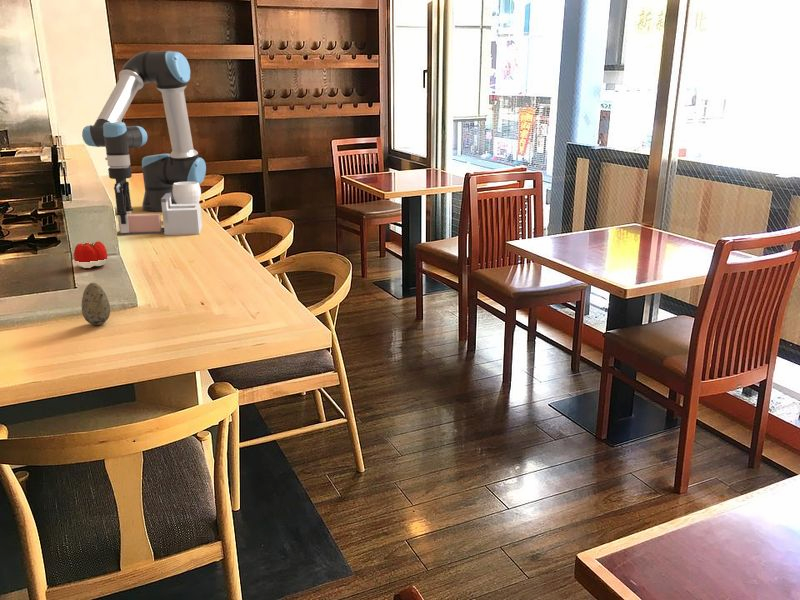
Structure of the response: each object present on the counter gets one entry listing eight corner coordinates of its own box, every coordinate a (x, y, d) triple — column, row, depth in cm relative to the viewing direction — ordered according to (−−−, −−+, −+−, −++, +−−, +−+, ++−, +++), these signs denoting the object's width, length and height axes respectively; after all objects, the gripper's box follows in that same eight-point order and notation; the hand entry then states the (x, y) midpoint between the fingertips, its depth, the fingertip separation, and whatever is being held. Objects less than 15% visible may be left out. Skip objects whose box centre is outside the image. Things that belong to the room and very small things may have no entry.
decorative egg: (84, 330, 152) (77, 288, 149) (84, 322, 158) (78, 281, 155) (112, 326, 155) (106, 285, 152) (111, 318, 160) (106, 278, 157)
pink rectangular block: (122, 230, 250) (120, 214, 248) (161, 229, 252) (160, 213, 250) (119, 232, 246) (117, 216, 244) (160, 231, 248) (158, 215, 246)
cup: (207, 218, 274) (204, 181, 270) (197, 224, 264) (193, 185, 259) (182, 218, 275) (178, 181, 271) (171, 223, 265) (167, 184, 260)
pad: (121, 230, 253) (121, 228, 252) (166, 228, 255) (166, 227, 255) (117, 235, 245) (117, 233, 245) (163, 233, 248) (163, 231, 248)
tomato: (69, 269, 201) (66, 244, 199) (92, 262, 209) (88, 238, 207) (94, 272, 198) (91, 247, 196) (116, 265, 206) (113, 241, 204)
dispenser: (169, 227, 257) (166, 193, 253) (202, 226, 259) (199, 192, 255) (164, 235, 245) (160, 199, 241) (199, 234, 247) (195, 198, 243)
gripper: (113, 164, 249) (121, 226, 256) (102, 170, 231) (110, 236, 238) (135, 163, 250) (142, 225, 257) (125, 169, 233) (133, 235, 240)
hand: (127, 230), depth 248 cm, fingers open, 6 cm apart
